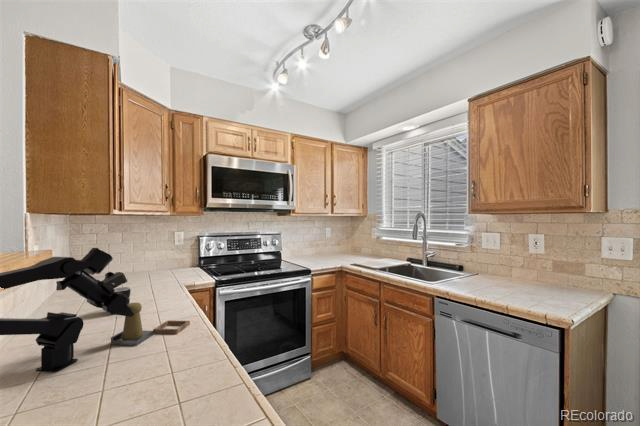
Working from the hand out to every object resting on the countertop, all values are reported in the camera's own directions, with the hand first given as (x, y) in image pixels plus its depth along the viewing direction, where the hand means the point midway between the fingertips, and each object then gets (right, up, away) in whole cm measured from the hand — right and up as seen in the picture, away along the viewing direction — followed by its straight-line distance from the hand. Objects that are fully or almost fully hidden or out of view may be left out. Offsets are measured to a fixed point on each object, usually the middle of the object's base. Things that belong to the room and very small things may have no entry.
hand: (127, 312), depth 97 cm
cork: (+1, -9, +1) cm, 9 cm away
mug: (-26, -11, +32) cm, 43 cm away
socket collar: (+10, -10, +11) cm, 18 cm away
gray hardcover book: (+1, -10, +2) cm, 10 cm away
